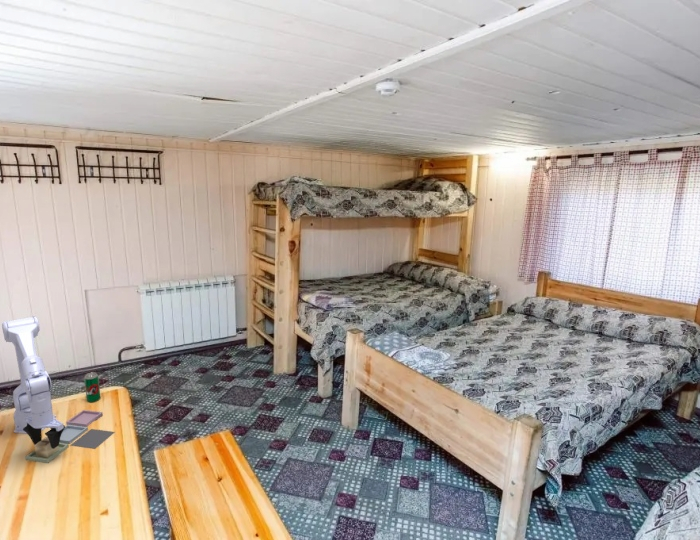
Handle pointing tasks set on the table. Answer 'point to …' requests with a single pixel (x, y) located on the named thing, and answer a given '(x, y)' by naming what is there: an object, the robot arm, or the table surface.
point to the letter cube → (45, 448)
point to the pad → (92, 439)
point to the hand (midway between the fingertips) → (46, 444)
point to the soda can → (92, 387)
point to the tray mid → (71, 433)
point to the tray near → (46, 460)
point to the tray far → (84, 418)
